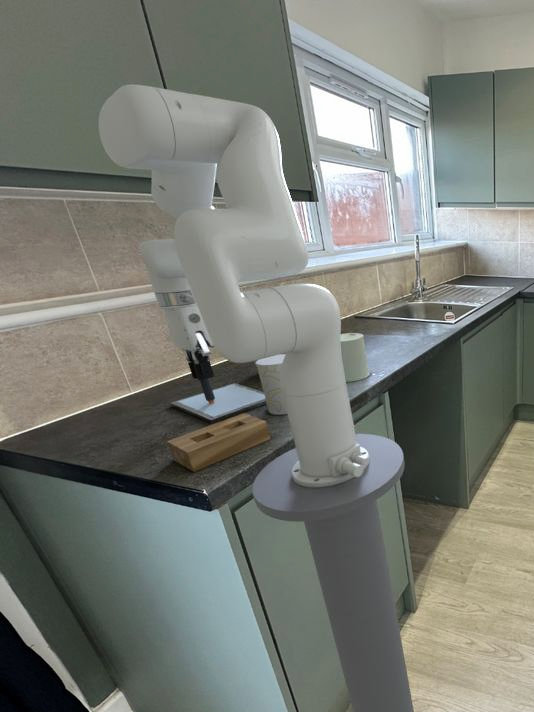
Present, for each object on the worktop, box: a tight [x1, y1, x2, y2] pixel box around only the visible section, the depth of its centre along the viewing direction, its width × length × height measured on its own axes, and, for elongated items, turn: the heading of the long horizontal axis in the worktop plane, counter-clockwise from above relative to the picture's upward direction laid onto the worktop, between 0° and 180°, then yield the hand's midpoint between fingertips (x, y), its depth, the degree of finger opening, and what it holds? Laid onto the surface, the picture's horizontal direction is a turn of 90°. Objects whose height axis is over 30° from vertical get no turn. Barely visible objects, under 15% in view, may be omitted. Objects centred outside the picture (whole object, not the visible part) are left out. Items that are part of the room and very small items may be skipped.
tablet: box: [170, 382, 267, 424], centre depth 103 cm, size 20×15×1 cm
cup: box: [256, 353, 288, 416], centre depth 97 cm, size 8×8×12 cm
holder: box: [166, 412, 271, 473], centre depth 80 cm, size 8×14×4 cm, turn 148°
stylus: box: [192, 354, 215, 403], centre depth 98 cm, size 2×2×12 cm
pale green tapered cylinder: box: [341, 332, 371, 383], centre depth 116 cm, size 9×9×12 cm
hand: (203, 377), depth 98 cm, fingers closed on stylus, 1 cm apart
